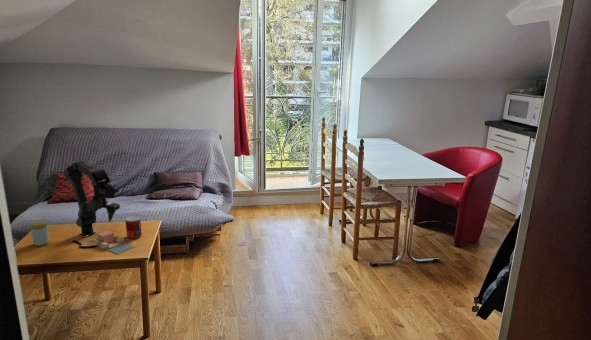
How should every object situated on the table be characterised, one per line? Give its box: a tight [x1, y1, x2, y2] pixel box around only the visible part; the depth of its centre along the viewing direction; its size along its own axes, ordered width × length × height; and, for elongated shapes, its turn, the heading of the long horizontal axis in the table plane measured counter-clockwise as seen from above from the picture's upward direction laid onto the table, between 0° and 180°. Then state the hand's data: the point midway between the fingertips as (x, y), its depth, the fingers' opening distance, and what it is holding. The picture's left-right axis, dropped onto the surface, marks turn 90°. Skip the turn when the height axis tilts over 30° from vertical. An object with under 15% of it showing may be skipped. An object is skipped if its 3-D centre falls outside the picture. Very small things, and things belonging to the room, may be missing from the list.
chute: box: [92, 234, 125, 251], centre depth 221 cm, size 12×10×3 cm
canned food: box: [125, 215, 142, 240], centre depth 230 cm, size 8×8×11 cm
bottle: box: [30, 215, 50, 248], centre depth 218 cm, size 7×7×15 cm
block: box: [96, 230, 115, 244], centre depth 221 cm, size 6×6×5 cm
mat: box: [107, 242, 135, 255], centre depth 216 cm, size 8×10×1 cm
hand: (102, 220), depth 220 cm, fingers open, 9 cm apart
